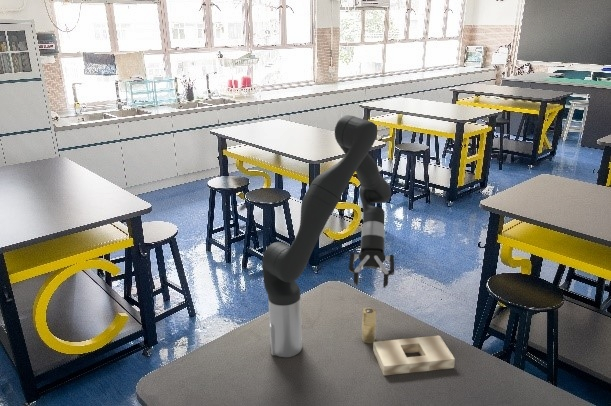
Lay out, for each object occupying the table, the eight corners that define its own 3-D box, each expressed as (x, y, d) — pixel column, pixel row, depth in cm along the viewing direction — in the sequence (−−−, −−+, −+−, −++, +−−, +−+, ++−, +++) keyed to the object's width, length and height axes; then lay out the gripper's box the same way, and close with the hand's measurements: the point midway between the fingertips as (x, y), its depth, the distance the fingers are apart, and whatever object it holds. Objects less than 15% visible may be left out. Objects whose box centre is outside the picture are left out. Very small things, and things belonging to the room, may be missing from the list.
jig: (383, 375, 132) (384, 366, 131) (373, 350, 143) (373, 341, 142) (454, 367, 135) (454, 358, 134) (438, 343, 145) (439, 335, 144)
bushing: (363, 344, 146) (364, 315, 142) (360, 336, 149) (361, 307, 146) (376, 342, 146) (377, 313, 143) (373, 334, 150) (374, 306, 146)
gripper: (350, 232, 157) (347, 281, 150) (395, 234, 154) (394, 284, 148) (351, 241, 163) (348, 288, 157) (394, 243, 161) (393, 291, 154)
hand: (370, 286), depth 152 cm, fingers open, 8 cm apart
